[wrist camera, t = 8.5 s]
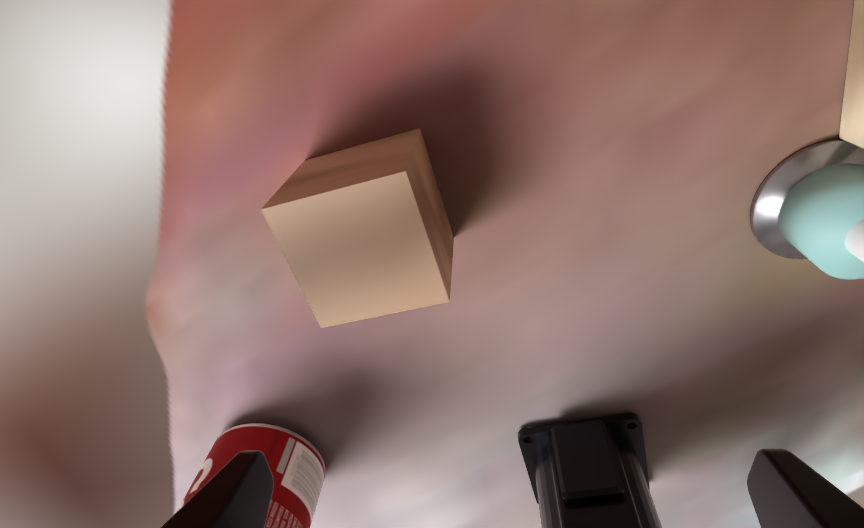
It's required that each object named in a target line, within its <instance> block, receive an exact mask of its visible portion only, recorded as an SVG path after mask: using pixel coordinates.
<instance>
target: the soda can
mask: <svg viewBox="0 0 864 528" xmlns="http://www.w3.org/2000/svg"><path fill="white" fill-rule="evenodd" d="M244 450H259V451H262V452H263V453H264V455H265V457H266V460H267V462H268V465H269V467H270V470H271V473H272V475H273V479H274V487H273V492H272V497H271V501H270V506H269V510H268V515H267V519H266V524H265V528H310V525H311V522H312V518H313V515H314V512H315V508H316V505H317V501H318V498H319V494H320V491H321V488H322V484H323V481H324V477H325V463H324V460H323V458H322V456H321V454H320V453H319V451H318V450H317V449H316V448H315V447H314V446H313V445H312V444H311V443H310V442H309V441H308V440H306V439H305V438H304V437H302V436H300V435H299V434H297V433H295V432H293V431H291V430H288V429H286V428H283V427H279V426H275V425H271V424H263V423H248V424H242V425H238V426H235V427H232V428H230V429H228V430H226V431H225V432H223V433H222V434H221V435H220V436H219V437H218V438H217V440H216V442H215V443H214V445H213V447H212V449H211V451H210V452H209V454H208V456H207V458H206V460H205V462H204V463H203V465H202V467H201V469H200V471H199V472H198V474H197V476H196V478H195V480H194V482H193V483H192V485H191V487H190V489H189V491H188V492H187V494H186V496H185V498H184V500H183V502H182V503H181V505H180V507H179V509H181V508H182V507H183V506H184V505H185V504H186V503H187V502H188V501H189V500H190V499H191V498H192V497H193V496H194V495H195V494H196V493H197V492H198V491H199V490H200V489H201V488H202V487H203V486H204V485H205V484H206V483H207V482H208V481H209V480H210V479H211V478H212V477H214V476H215V475H216V474H217V473H218V472H219V471H220V470H221V469H222V468H223V467H224V466H225V465H226V464H227V463H228V462H229V461H230V460H231V459H232V458H233V457H234V456H235V455H236V454H237V453H239V452H241V451H244ZM179 509H178V510H179Z"/></svg>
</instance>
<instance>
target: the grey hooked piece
mask: <svg viewBox="0 0 864 528" xmlns="http://www.w3.org/2000/svg"><path fill="white" fill-rule="evenodd" d="M842 163H853V164H859V165H863V166H864V149H863V148H861V147H859V146H857V145H854V144H852V143H850V142H848V141H845V140H843V139H833V140H828V141H823V142H819V143H816V144H813V145H810V146H808V147H805V148H803V149H801V150H799V151H797V152H795V153H794V154H792V155H791V156H789V157H788V158H786V159H785V160H784V161H782V162H781V163H780V164H778V165H777V166H776V167H775V168H774V169H773V170H772V171H771V172H770V173H769V174H768V175H767V177H766V178H765V179H764V180H763V182H762V183H761V185H760V186H759V188H758V190H757V192H756V193H755V196H754V198H753V201H752V205H751V209H750V223H751V228H752V231H753V233H754V235H755V236H756V238H757V239H758V241H759V242H760V243H761V244H762V245H763V246H765V247H766V248H767V249H768V250H770V251H771V252H773V253H775V254H777V255H780V256H783V257H786V258H792V259H808V258H807V257H805V256H804V255H803V254H802V253H801V252H800V251H798V250H797V249H796V248H795V247H794V246H792V245H791V244H790V243H789V242H788V241H786V239H785V238H784V237H783V236H782V234H781V233H780V230H779V226H778V215H779V210H780V207H781V205H782V203H783V201H784V199H785V198H786V196H787V195H788V193H789V192H790V191H791V190H792V189H793V188H794V187H795V186H796V185H797V184H798V183H799V182H800V181H801V180H803V179H804V178H806V177H807V176H809V175H810V174H812V173H814V172H816V171H818V170H820V169H822V168H825V167H828V166H832V165H836V164H842Z"/></svg>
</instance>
